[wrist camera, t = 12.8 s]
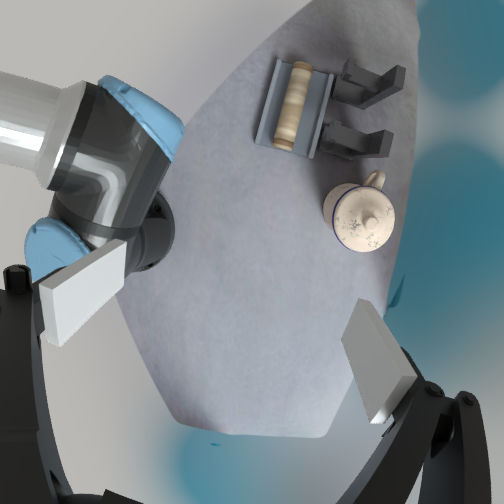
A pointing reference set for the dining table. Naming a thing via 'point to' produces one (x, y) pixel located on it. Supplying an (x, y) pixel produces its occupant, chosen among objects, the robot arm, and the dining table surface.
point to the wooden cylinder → (292, 106)
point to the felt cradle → (310, 113)
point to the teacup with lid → (360, 214)
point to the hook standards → (362, 96)
